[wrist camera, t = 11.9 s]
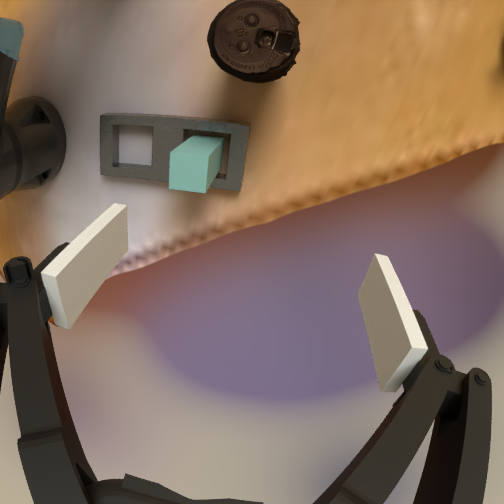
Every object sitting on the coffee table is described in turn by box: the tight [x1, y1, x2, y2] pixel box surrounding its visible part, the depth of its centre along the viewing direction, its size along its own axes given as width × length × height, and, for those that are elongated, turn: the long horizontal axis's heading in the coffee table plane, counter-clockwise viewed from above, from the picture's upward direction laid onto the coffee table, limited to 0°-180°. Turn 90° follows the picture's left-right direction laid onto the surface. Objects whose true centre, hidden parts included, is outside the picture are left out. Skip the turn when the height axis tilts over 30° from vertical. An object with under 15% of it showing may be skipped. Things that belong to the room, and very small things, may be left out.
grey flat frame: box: [100, 113, 250, 191], centre depth 39 cm, size 20×9×2 cm, turn 82°
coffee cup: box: [207, 0, 300, 83], centre depth 27 cm, size 9×8×13 cm
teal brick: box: [169, 135, 225, 193], centre depth 36 cm, size 4×4×10 cm
